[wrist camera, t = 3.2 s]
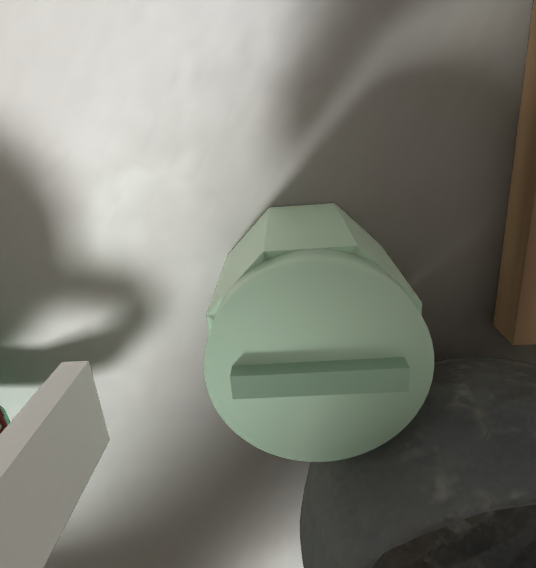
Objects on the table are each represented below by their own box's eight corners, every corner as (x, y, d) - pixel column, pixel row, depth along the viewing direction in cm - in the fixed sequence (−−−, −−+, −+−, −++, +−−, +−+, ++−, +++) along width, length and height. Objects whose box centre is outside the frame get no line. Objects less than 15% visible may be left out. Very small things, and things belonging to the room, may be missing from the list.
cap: (238, 347, 23) (215, 479, 15) (223, 210, 20) (184, 279, 12) (378, 340, 22) (433, 471, 14) (381, 199, 20) (449, 264, 12)
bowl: (567, 517, 26) (724, 743, 17) (314, 541, 27) (331, 763, 18) (591, 286, 21) (840, 430, 12) (276, 329, 22) (272, 489, 13)
